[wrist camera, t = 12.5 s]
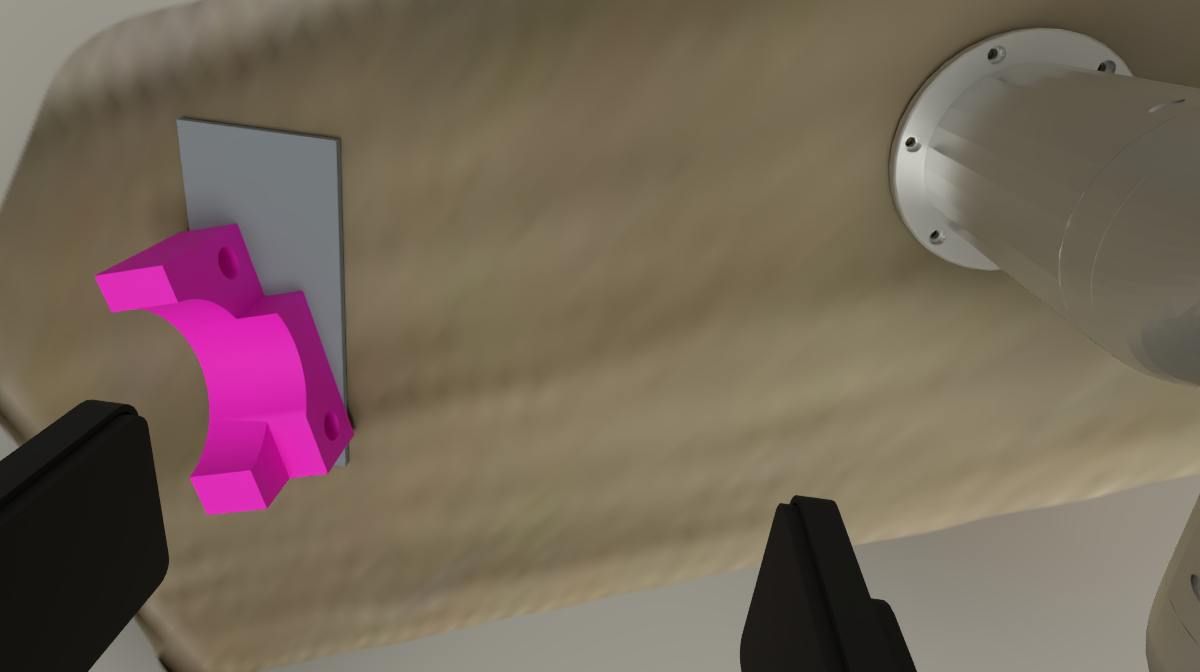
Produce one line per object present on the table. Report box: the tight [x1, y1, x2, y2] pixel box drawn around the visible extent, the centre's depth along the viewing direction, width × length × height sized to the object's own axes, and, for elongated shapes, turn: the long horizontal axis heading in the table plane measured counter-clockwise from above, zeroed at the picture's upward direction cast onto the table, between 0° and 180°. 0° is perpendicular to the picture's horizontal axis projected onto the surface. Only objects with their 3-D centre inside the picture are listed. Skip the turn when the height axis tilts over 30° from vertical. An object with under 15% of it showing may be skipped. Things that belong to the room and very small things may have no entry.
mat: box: [176, 118, 349, 467], centre depth 47 cm, size 9×22×1 cm, turn 173°
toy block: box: [95, 223, 354, 515], centre depth 44 cm, size 15×6×8 cm, turn 10°
